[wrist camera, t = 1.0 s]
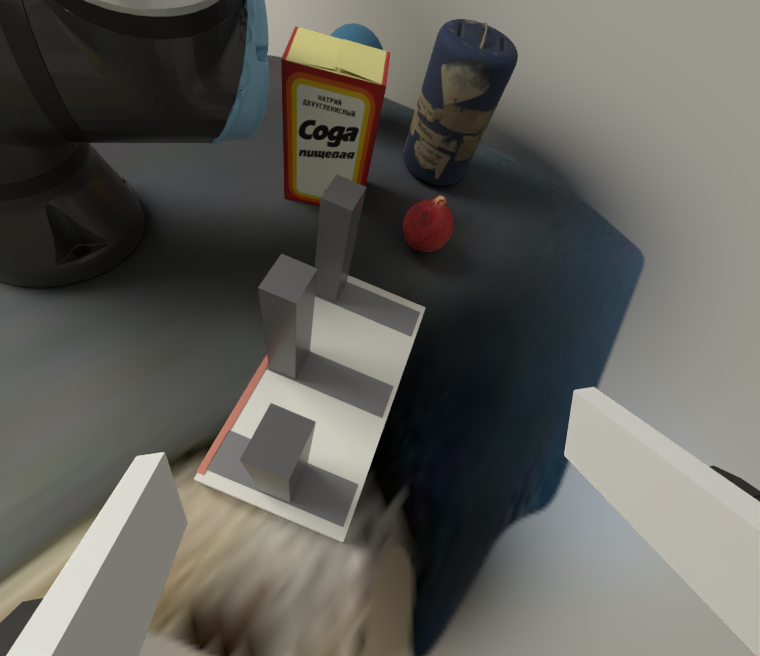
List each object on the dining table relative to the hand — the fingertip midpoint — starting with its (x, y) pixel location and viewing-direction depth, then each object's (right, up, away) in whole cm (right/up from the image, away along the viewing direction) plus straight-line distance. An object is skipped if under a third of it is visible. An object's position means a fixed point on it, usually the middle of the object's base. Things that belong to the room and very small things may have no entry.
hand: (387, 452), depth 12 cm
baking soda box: (-7, +22, +36) cm, 43 cm away
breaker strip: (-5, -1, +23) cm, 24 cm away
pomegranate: (+5, +14, +35) cm, 38 cm away
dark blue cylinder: (+7, +28, +43) cm, 52 cm away
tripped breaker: (-8, -7, +16) cm, 19 cm away
